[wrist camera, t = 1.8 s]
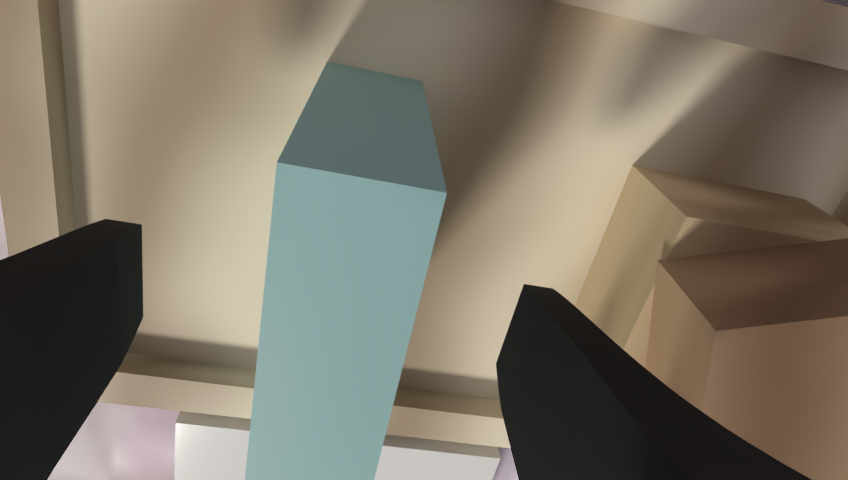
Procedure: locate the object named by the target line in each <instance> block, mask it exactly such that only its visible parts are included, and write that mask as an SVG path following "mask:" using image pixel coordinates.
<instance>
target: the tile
mask: <svg viewBox="0 0 848 480" xmlns="http://www.w3.org/2000/svg"><path fill="white" fill-rule="evenodd" d="M250 423H251V419H246V418H238V417H229V416H220V415H211V414H202V413H194V412H185V411H180V413H179V416H178V418H177V420H176V423H175V473H174V480H245V473H246V463H247V453H248V443H249V433H250ZM499 461H500V454H499V450H498V447H493V446H485V445H476V444H467V443H458V442H449V441H441V440H432V439H423V438H414V437H405V436H396V435H388V434H386V435H385V439H384V443H383V447H382V451H381V455H380V459H379V463H378V466H377V470H376V474H375V478H374V480H492V479H493V476H494V474H495V471H496V469H497V466H498V464H499Z"/></svg>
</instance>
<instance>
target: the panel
mask: <svg viewBox="0 0 848 480" xmlns="http://www.w3.org/2000/svg"><path fill="white" fill-rule="evenodd" d="M446 195H447V190H446V186H445V181H444V177H443V172H442V168H441V163H440V159H439V154H438V150H437V145H436V141H435V137H434V132H433V128H432V123H431V119H430V114H429V110H428V105H427V101H426V96H425V92H424V87H423V83H422V81H420V80H415V79H410V78H405V77H401V76H396V75H391V74H386V73H381V72H377V71H372V70H367V69H362V68H357V67H353V66H348V65H343V64H338V63H333V62H328V61H327V63H326V65H325V67H324V69H323V71H322V73H321V75H320V77H319V79H318V81H317V83H316V85H315V87H314V89H313V91H312V93H311V95H310V97H309V99H308V101H307V103H306V105H305V107H304V109H303V111H302V113H301V115H300V117H299V119H298V121H297V123H296V125H295V127H294V129H293V131H292V133H291V135H290V137H289V139H288V141H287V143H286V145H285V147H284V149H283V151H282V153H281V155H280V157H279V159H278V161H277V166H276V175H275V185H274V195H273V205H272V215H271V225H270V235H269V245H268V255H267V265H266V274H265V284H264V294H263V304H262V314H261V324H260V334H259V344H258V354H257V364H256V374H255V383H254V393H253V403H252V413H251V423H250V433H249V443H248V453H247V463H246V473H245V480H374V478H375V474H376V470H377V466H378V463H379V459H380V455H381V451H382V447H383V443H384V439H385V435H386V431H387V427H388V423H389V419H390V415H391V411H392V407H393V403H394V400H395V396H396V392H397V388H398V384H399V380H400V376H401V372H402V368H403V364H404V360H405V356H406V352H407V348H408V344H409V341H410V337H411V333H412V329H413V325H414V321H415V317H416V313H417V309H418V305H419V301H420V297H421V293H422V289H423V285H424V282H425V278H426V274H427V270H428V266H429V262H430V258H431V254H432V250H433V246H434V242H435V238H436V234H437V230H438V226H439V223H440V219H441V215H442V211H443V207H444V203H445V199H446Z"/></svg>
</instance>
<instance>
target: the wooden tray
mask: <svg viewBox="0 0 848 480" xmlns="http://www.w3.org/2000/svg"><path fill="white" fill-rule="evenodd" d="M327 61H328V62H333V63H338V64H343V65H348V66H353V67H357V68H362V69H367V70H372V71H377V72H381V73H386V74H391V75H396V76H401V77H405V78H410V79H415V80H420V81H422V83H423V87H424V92H425V96H426V101H427V105H428V110H429V114H430V119H431V123H432V128H433V132H434V137H435V141H436V145H437V150H438V154H439V159H440V163H441V168H442V172H443V177H444V181H445V186H446V190H447V195H446V199H445V203H444V207H443V211H442V215H441V219H440V223H439V226H438V230H437V234H436V238H435V242H434V246H433V250H432V254H431V258H430V262H429V266H428V270H427V274H426V278H425V282H424V285H423V289H422V293H421V297H420V301H419V305H418V309H417V313H416V317H415V321H414V325H413V329H412V333H411V337H410V341H409V344H408V348H407V352H406V356H405V360H404V364H403V368H402V372H401V376H400V380H399V384H398V388H397V392H396V396H395V400H394V403H393V407H392V411H391V415H390V419H389V423H388V427H387V431H386V434H388V435H396V436H405V437H414V438H423V439H432V440H441V441H449V442H458V443H467V444H476V445H485V446H493V447H502V448H511V447H510V443H509V439H508V435H507V431H506V427H505V423H504V419H503V415H502V411H501V405H500V397H499V390H498V380H497V369H496V362H497V359H498V356H499V354H500V351H501V348H502V345H503V342H504V339H505V336H506V334H507V331H508V328H509V325H510V322H511V319H512V316H513V314H514V311H515V308H516V305H517V302H518V299H519V296H520V294H521V291H522V288H523V285H524V284H527V285H534V286H540V287H546V288H553V289H554V290H556V291H557V292H558V293H560V294H561V295H562V296H564V297H565V298H566V299H567V300H568V301H570V302H571V303H572V304H573V305H574V306H575V304H576V302H577V299H578V297H579V294H580V292H581V289H582V287H583V284H584V282H585V280H586V277H587V275H588V272H589V270H590V267H591V265H592V262H593V260H594V257H595V255H596V253H597V250H598V248H599V245H600V243H601V240H602V238H603V235H604V233H605V231H606V228H607V226H608V223H609V221H610V218H611V216H612V213H613V211H614V208H615V206H616V204H617V201H618V199H619V196H620V194H621V191H622V189H623V186H624V184H625V181H626V179H627V177H628V174H629V172H630V169H631V167H632V165H634V166H639V167H644V168H649V169H655V170H660V171H665V172H670V173H675V174H680V175H685V176H690V177H695V178H700V179H705V180H711V181H716V182H721V183H726V184H731V185H736V186H741V187H746V188H751V189H756V190H761V191H767V192H772V193H777V194H782V195H787V196H792V197H797V198H802V199H805V200H807V201H809V202H810V203H812V204H813V205H815V206H816V207H818V208H820V209H821V210H823V211H824V212H826V213H827V214H829V215H831V216H832V217H834V218H835V219H837V220H839V221H840V222H842V223H843V224H845V225H846V226H848V7H846V6H843V5H839V4H835V3H831V2H827V1H823V0H0V196H1V203H2V210H3V217H4V224H5V231H6V238H7V246H8V253H9V257H10V256H12V255H15V254H17V253H20V252H22V251H25V250H27V249H29V248H32V247H34V246H37V245H39V244H42V243H44V242H47V241H49V240H51V239H54V238H56V237H59V236H61V235H64V234H66V233H68V232H71V231H73V230H76V229H78V228H81V227H83V226H86V225H89V224H91V223H94V222H97V221H101V220H104V219H110V220H116V221H123V222H129V223H136V224H142V268H143V319H142V321H141V323H140V326H139V328H138V330H137V332H136V335H135V337H134V339H133V341H132V343H131V346H130V348H129V350H128V352H127V354H126V356H125V358H124V360H123V362H122V364H121V366H120V367H119V369H118V370H117V372H116V374H115V375H114V377H113V378H112V380H111V381H110V383H109V385H108V386H107V388H106V389H105V391H104V392H103V394H102V395H101V397H100V399H99V400H98V402H105V403H114V404H123V405H132V406H141V407H149V408H158V409H167V410H176V411H185V412H194V413H202V414H211V415H220V416H229V417H238V418H246V419H251V413H252V403H253V393H254V383H255V374H256V364H257V354H258V344H259V334H260V324H261V314H262V304H263V294H264V284H265V274H266V265H267V255H268V245H269V235H270V225H271V215H272V205H273V195H274V185H275V175H276V166H277V161H278V159H279V157H280V155H281V153H282V151H283V149H284V147H285V145H286V143H287V141H288V139H289V137H290V135H291V133H292V131H293V129H294V127H295V125H296V123H297V121H298V119H299V117H300V115H301V113H302V111H303V109H304V107H305V105H306V103H307V101H308V99H309V97H310V95H311V93H312V91H313V89H314V87H315V85H316V83H317V81H318V79H319V77H320V75H321V73H322V71H323V69H324V67H325V65H326V63H327Z"/></svg>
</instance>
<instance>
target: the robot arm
mask: <svg viewBox="0 0 848 480" xmlns="http://www.w3.org/2000/svg"><path fill="white" fill-rule="evenodd" d="M142 319H143V268H142V224H136V223H129V222H123V221H116V220H110V219H104V220H101V221H97V222H94V223H91V224H89V225H86V226H83V227H81V228H78V229H76V230H73V231H71V232H68V233H66V234H64V235H61V236H59V237H56V238H54V239H51V240H49V241H47V242H44V243H42V244H39V245H37V246H34V247H32V248H29V249H27V250H25V251H22V252H20V253H17V254H15V255H12V256H10V257H7V258H5V259H2V260H0V480H47V479H48V477H49V475H50V474H51V472H52V470H53V469H54V467H55V466H56V464H57V463H58V461H59V460H60V458H61V457H62V455H63V454H64V452H65V450H66V449H67V447H68V446H69V444H70V443H71V441H72V440H73V438H74V437H75V435H76V434H77V432H78V431H79V429H80V428H81V426H82V424H83V423H84V421H85V420H86V418H87V417H88V415H89V414H90V412H91V411H92V409H93V408H94V406H95V405H96V403H97V402H98V400H99V399H100V397H101V395H102V394H103V392H104V391H105V389H106V388H107V386H108V385H109V383H110V381H111V380H112V378H113V377H114V375H115V374H116V372H117V370H118V369H119V367H120V366H121V364H122V362H123V360H124V358H125V356H126V354H127V352H128V350H129V348H130V346H131V343H132V341H133V339H134V337H135V335H136V332H137V330H138V328H139V326H140V323H141V321H142ZM496 369H497V380H498V390H499V397H500V405H501V411H502V415H503V419H504V423H505V427H506V431H507V435H508V439H509V443H510V447H511V451H512V455H513V458H514V462H515V466H516V470H517V474H518V478H519V480H812V479H810V478H808V477H806V476H804V475H803V474H801V473H799V472H797V471H795V470H794V469H792V468H790V467H788V466H787V465H785V464H783V463H781V462H780V461H778V460H777V459H775V458H773V457H772V456H770V455H768V454H767V453H765V452H763V451H762V450H760V449H758V448H757V447H755V446H753V445H752V444H750V443H748V442H747V441H745V440H743V439H742V438H740V437H739V436H737V435H736V434H734V433H733V432H731V431H729V430H728V429H726V428H725V427H723V426H722V425H720V424H719V423H718V422H716V421H715V420H713V419H712V418H710V417H709V416H708V415H706V414H705V413H703V412H702V411H700V410H699V409H698V408H696V407H695V406H693V405H692V404H690V403H689V402H688V401H686V400H685V399H684V398H682V397H681V396H680V395H678V394H677V393H676V392H674V391H673V390H672V389H670V388H669V387H668V386H667V385H665V384H664V383H663V382H662V381H660V380H659V379H658V378H657V377H655V376H654V375H653V374H652V373H650V372H649V371H648V370H647V369H645V368H644V367H643V366H642V365H641V364H639V363H638V362H637V361H636V360H635V359H634V358H632V357H631V356H630V355H629V354H628V353H627V352H625V351H624V350H623V349H622V348H621V347H620V346H619V345H617V344H616V343H615V342H614V341H613V340H612V339H611V338H610V337H608V336H607V335H606V334H605V333H604V332H603V331H602V330H601V329H600V328H599V327H597V326H596V325H595V324H594V323H593V322H592V321H591V320H590V319H589V318H588V317H586V316H585V315H584V314H583V313H582V312H581V311H580V310H579V309H578V308H576V307H575V306H574V305H573V304H572V303H571V302H570V301H568V300H567V299H566V298H565V297H564V296H562V295H561V294H560V293H558V292H557V291H556V290H554V289H553V288H546V287H540V286H534V285H527V284H524V285H523V288H522V291H521V294H520V296H519V299H518V302H517V305H516V308H515V311H514V314H513V316H512V319H511V322H510V325H509V328H508V331H507V334H506V336H505V339H504V342H503V345H502V348H501V351H500V354H499V356H498V359H497V362H496Z"/></svg>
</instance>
